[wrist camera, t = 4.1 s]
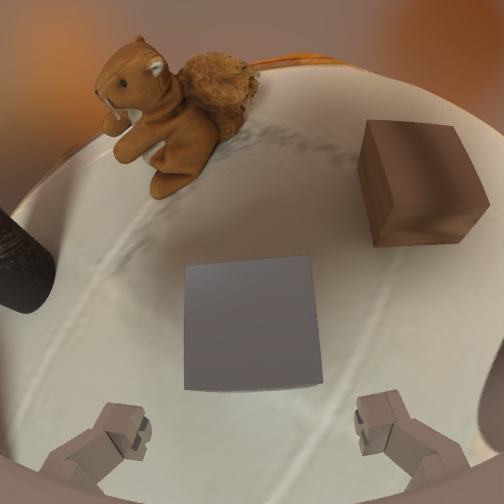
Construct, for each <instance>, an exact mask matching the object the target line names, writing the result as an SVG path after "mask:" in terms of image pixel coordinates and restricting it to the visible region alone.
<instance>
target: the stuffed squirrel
mask: <svg viewBox="0 0 504 504" xmlns="http://www.w3.org/2000/svg"><path fill="white" fill-rule="evenodd" d="M256 72H257V70H254V68H253V66H249V65H248V64H247V63H245V62H243V61H242V62H241V61H240V60H237V59H234V58H231V56H228V55H227V54H224V53H218V52H217V53H216V54H215V51H214V52H207V53H206V54H205V55H198V56H197V57H194V58H193V59H191V60H189V61H188V62H187V63H186V65H185V67H184V68H182V69H181V70H180V71H179V73H178V74H177V75H174V74H173V73H171V72H170V71H169V68H168V64H167V62H166V60H165V59H164V58H163V56H162V55H160V54H159V53H158V52H157V51H156V50H155V49H154V48H153V47H151V46H150V45H149V44H147V43H145V40H144V38H143V37H142V36H141V35H137V36H135V37H134V38H132V40H131V41H130V44H127V45H125V46H124V47H122V48H121V49H119V50H118V51H117V52H116V53H115V54H114V55H113V56H112V57H111V58H110V59H109V61H108V62H107V63H106V64H105V66H104V68H103V69H102V71H101V73H100V75H99V76H98V78H97V80H96V83H95V89H96V91H95V93H96V94H97V96H98V97H99V99H100V101H101V102H102V103H103V104H104V105H105V106H106V107H107V108H108V109H109V110H110V111H111V112H110V113H108V114H107V115H106V116H105V118H104V121H103V123H102V131H103V132H104V133H105V134H106V135H108V136H111V137H116V136H119V135H121V134H122V133H123V132H124V131H125V130H127V129H128V128H129V127H131V126H132V125H133V128H132V129H131V130H130V131H129V132H128V133H126V134H125V135H124V136H123V137H122V138H121V139H120V140H119V141H118V142H117V143H116V145H115V146H114V149H113V153H114V156H115V158H116V160H117V161H118V162H120V163H122V164H128V163H131V162H133V161H134V160H136V159H137V158H138V157H140V156H141V155H142V157H143V159H144V160H145V161H146V163H147V164H149V165H150V166H152V167H153V168H155V169H157V171H156V173H155V175H154V177H153V178H152V181H151V186H150V194H151V196H152V197H153V198H154V199H157V200H161V199H163V198H166V197H168V196H170V195H171V194H173V193H175V192H176V191H178V190H179V189H181V188H183V187H184V186H186V185H187V184H189V183H190V182H192V181H193V180H194V179H196V178H197V177H198V176H199V174H200V173H201V171H202V170H203V168H204V166H205V164H206V162H207V160H208V158H209V156H210V154H211V153H212V150H213V148H214V147H215V145H218V144H220V143H223V142H224V141H225V142H226V141H227V139H228V138H230V137H233V136H234V134H236V132H237V131H238V129H239V127H240V126H241V125H242V123H243V121H244V118H243V112H244V111H245V107H244V106H243V105H246V104H247V103H249V104H253V103H252V101H251V99H252V97H253V96H254V94H256V93H257V89H258V87H257V85H259V84H260V83H258V82H257V80H256V79H254V77H255V76H256V77H260V73H259V72H258V73H256ZM112 110H113V111H112Z"/></svg>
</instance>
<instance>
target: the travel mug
mask: <svg viewBox="0 0 504 504" xmlns="http://www.w3.org/2000/svg"><path fill="white" fill-rule="evenodd" d="M54 277H55V264H54V260H53V257H52V256H51V254H50V253H49V252H48V251H47V250H46V249H45V248H44V247H43V246H42V245H41V244H39V243H38V242H37V241H36V240H35V239H34V238H33V237H31V236H30V235H29V234H28V233H27V232H26V231H25V230H24V229H22V228H21V227H20V226H19V225H18V224H17V223H16V222H15V221H14V220H13V219H12V218H10V217H9V216H8V215H7V214H6V213H5V212H4V211H3V210H2V209H1V208H0V304H1V305H3V306H5V307H8V308H10V309H12V310H15V311H17V312H20V313H24V314H27V313H32V312H34V311H35V310H37V309H38V308H39V307H40V306H41V305H42V304H43V303H44V302H45V300H46V299H47V297H48V295H49V293H50V291H51V289H52V286H53V282H54Z"/></svg>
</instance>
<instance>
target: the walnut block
mask: <svg viewBox="0 0 504 504" xmlns="http://www.w3.org/2000/svg"><path fill="white" fill-rule="evenodd" d="M357 170H358V174H359V178H360V182H361V186H362V190H363V195H364V199H365V204H366V208H367V213H368V218H369V223H370V228H371V233H372V238H373V243H374V247H394V246H416V245H438V244H458V243H459V242H460V241H461V240H462V239H463V238H464V237H465V235H466V234H467V233H468V232H469V231H470V230H471V228H472V227H473V226H474V225H475V224H476V222H477V221H478V220H479V219H480V218H481V216H482V215H483V214H484V213H485V211H486V210H487V209H488V208H489V206H490V203H489V200H488V198H487V195H486V193H485V191H484V188H483V186H482V184H481V181H480V179H479V177H478V175H477V173H476V170H475V168H474V166H473V164H472V162H471V160H470V158H469V156H468V154H467V152H466V150H465V148H464V146H463V144H462V142H461V140H460V139H459V137H458V135H457V133H456V131H455V129H454V128H453V126H445V125H436V124H426V123H415V122H403V121H387V120H367V123H366V128H365V133H364V138H363V143H362V148H361V153H360V157H359V162H358V167H357Z"/></svg>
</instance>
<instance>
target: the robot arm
mask: <svg viewBox="0 0 504 504" xmlns="http://www.w3.org/2000/svg"><path fill="white" fill-rule="evenodd" d="M356 405H357V408H358V409H357V410H356V411H355V417H354V422H355V430H356V434H357V435H359V436H360V440H359V445H360V449H361V453H362V456H366V455H372V454H377V453H382V452H384V454H385V455H387V456H388V457H389V458H390V459H391V460H392V461H394V462H395V463H396V464H397V465H398V466H399V467H401V468H402V469H403V470H404V471H405V472H407V473H408V474H409V475H410V476H411V477H412V479H411V480H410V482H409V484H408V485H407V487H406V489H405V490H404V492H402V493H399V494H395V495H391V496H387V497H383V498H379V499H375V500H371V501H366V502H361V503H356V504H504V452H502V453H500V454H498V455H497V456H495V457H493V458H491V459H489V460H486V461H484V462H482V463H480V464H478V465H476V466H474V467H471V468H470V465H469V463H468V461H467V459H466V457H465V455H464V453H463V451H462V449H461V447H460V445H459V444H458V443H456V442H455V441H453V440H451V439H449V438H448V437H446V436H444V435H442V434H441V433H439V432H437V431H435V430H434V429H432V428H430V427H428V426H427V425H425V424H423V423H422V422H420V421H418V420H417V419H415V418H414V419H411V418H410V416H409V414H408V411H407V409H406V407H405V405H404V403H403V400H402V398H401V396H400V394H399V392H398V391H397V390H391V391H386V392H381V393H376V394H371V395H366V396H361V397H358V398H357V402H356ZM144 414H145V411H144V409H143V407H140V406H133V405H125V404H117V403H110V402H108V403H107V404H105V406H104V408H103V410H102V412H101V413H100V415H99V417H98V419H97V421H96V423H95V424H94V426H93V428H92V429H88V430H86V431H85V432H83V433H81V434H80V435H78V436H76V437H75V438H73V439H72V440H70V441H68V442H67V443H65V444H63V445H62V446H60V447H58V448H57V449H55V450H53V451H51V452H50V453H49V455H48V457H47V459H46V460H45V462H44V464H43V466H42V467H41V469H40V471H39V472H37V471H34V470H32V469H30V468H27V467H25V466H23V465H21V464H19V463H17V462H14V461H12V460H10V459H8V458H6V457H4V456H2V455H1V454H0V504H143V503H138V502H133V501H128V500H124V499H119V498H115V497H111V496H107V495H104V492H103V491H102V490H101V489H100V488H99V486H98V485H97V483H98V482H100V481H101V480H102V479H103V478H104V477H105V476H107V475H108V474H109V473H110V472H111V471H112V470H113V469H114V468H116V467H117V466H118V465H119V464H120V463H121V462H122V461H123V460H124V459H130V460H137V461H143V459H144V456H145V453H146V450H147V448H146V446H145V444H146V443H148V442H149V441H150V439H151V435H152V427H151V423H150V421H149V420H148V419H147V418H146V417H145V416H144Z"/></svg>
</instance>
